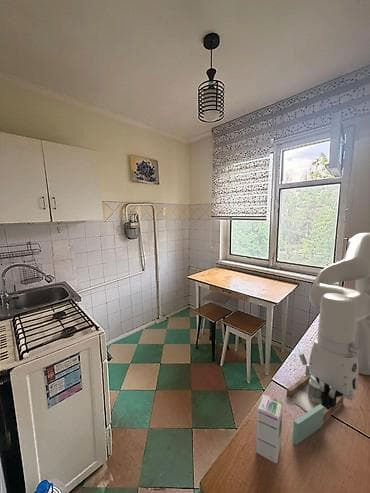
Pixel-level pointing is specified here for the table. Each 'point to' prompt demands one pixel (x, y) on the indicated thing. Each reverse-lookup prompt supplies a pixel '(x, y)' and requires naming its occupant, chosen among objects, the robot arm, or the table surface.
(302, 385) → the bay
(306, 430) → the gate
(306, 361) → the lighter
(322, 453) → the table surface
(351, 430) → the table surface
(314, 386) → the pill bottle
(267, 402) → the syrup box
